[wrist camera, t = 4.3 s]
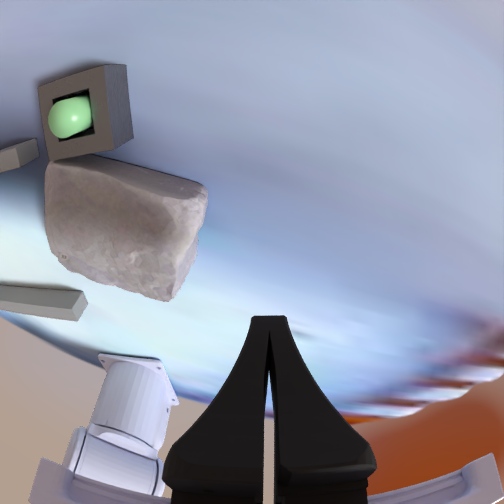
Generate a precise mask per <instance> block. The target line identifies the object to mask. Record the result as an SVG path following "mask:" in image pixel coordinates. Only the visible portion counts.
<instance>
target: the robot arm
mask: <svg viewBox="0 0 504 504" xmlns="http://www.w3.org/2000/svg"><path fill="white" fill-rule="evenodd" d="M98 359H99V360H100V362H101V364H102V365H103V367H104V369H105V370H106V372H107V375H106V378H105V381H104V383H103V386H102V388H101V391H100V394H99V397H98V399H97V402H96V405H95V408H94V411H93V414H92V416H91V419H90V422H89V425H88V427H87V428H84V427H81V426H80V427H79V428H76V429H74V431H73V434H72V436H71V439H70V442H69V445H68V447H67V451H66V454H65V457H64V460H63V464H62V465H60V464H57V463H55V462H53V461H50V460H48V459H45V458H41V460H40V463H39V466H38V469H37V473H36V476H35V479H34V483H33V486H32V490H31V493H30V497H29V502H30V503H31V504H263V467H264V463H263V462H264V414H265V405H266V395H267V385H268V375H269V373H270V383H271V392H272V401H273V411H274V504H494V503H496V502H498V501H499V500H501V499H503V498H504V494H503V489H502V485H501V481H500V477H499V473H498V470H497V466H496V463H495V459H494V455H493V453H490V454H488V455H486V456H484V457H481V458H479V459H477V460H475V461H472V462H471V463H469V464H467V465H465V466H464V467H463V468H462V469H460V470H458V471H455V472H452V473H450V474H447V475H444V476H441V477H438V478H435V479H432V480H430V481H426V482H423V483H420V484H416V485H413V486H409V487H406V488H402V489H398V490H394V491H390V492H386V493H381V494H377V495H372V496H367V491H366V488H367V487H368V480H367V478H368V477H369V476H370V475H371V474H372V473H374V471H375V470H376V469H377V464H376V459H375V456H374V454H373V451H372V449H371V447H370V444H369V443H368V442H367V441H366V440H365V439H364V438H363V437H362V436H360V435H359V434H358V433H357V432H356V431H355V430H354V429H353V428H352V427H351V426H350V425H349V423H348V422H347V421H346V420H345V419H344V418H343V417H342V416H341V415H340V413H339V412H338V411H337V410H336V409H335V407H334V406H333V405H332V404H331V403H330V401H329V400H328V399H327V397H326V396H325V395H324V393H323V392H322V390H321V389H320V387H319V386H318V385H317V383H316V381H315V380H314V378H313V377H312V375H311V373H310V371H309V370H308V368H307V366H306V364H305V363H304V361H303V359H302V357H301V355H300V352H299V350H298V348H297V346H296V344H295V342H294V339H293V337H292V334H291V331H290V328H289V325H288V321H287V317H285V316H284V315H281V316H253V317H252V318H251V323H250V328H249V331H248V334H247V337H246V340H245V343H244V345H243V347H242V350H241V352H240V354H239V357H238V359H237V361H236V363H235V365H234V367H233V369H232V371H231V372H230V374H229V376H228V378H227V379H226V381H225V383H224V384H223V386H222V388H221V389H220V391H219V392H218V394H217V395H216V396H215V398H214V399H213V401H212V402H211V404H210V405H209V406H208V408H207V409H206V410H205V411H204V413H203V414H202V415H201V416H200V417H199V418H198V419H197V421H196V422H195V423H194V424H193V425H192V426H191V427H190V428H189V429H188V430H187V431H186V432H185V433H184V434H183V435H182V436H181V437H180V438H179V439H178V440H177V441H176V442H175V443H174V444H173V445H172V447H171V449H170V451H169V453H168V455H167V457H166V460H165V463H164V464H163V462H162V460H161V459H160V458H157V455H158V450H159V449H160V448H161V446H162V445H163V442H164V439H165V434H166V429H167V423H168V419H169V414H170V409H171V405H179V400H178V398H177V396H176V394H175V391H174V389H173V387H172V385H171V382H170V380H169V378H168V375H167V373H166V371H165V368H164V366H163V363H162V362H161V361H159V360H152V359H142V358H133V357H124V356H116V355H109V354H101V353H100V354H98ZM165 484H166V485H167V486H169V487H170V488H171V489H173V490H172V497H171V499H170V498H165V497H161V496H162V494H163V491H164V488H165Z"/></svg>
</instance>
